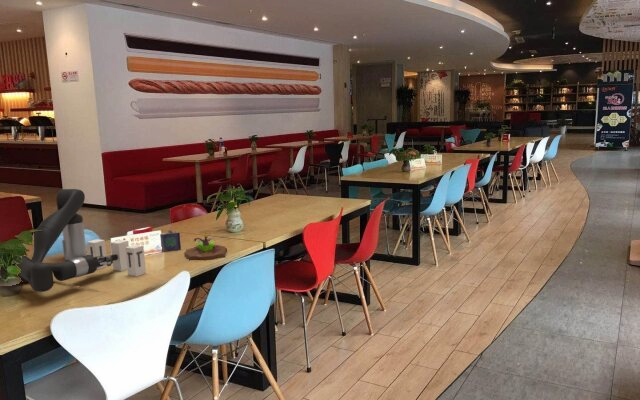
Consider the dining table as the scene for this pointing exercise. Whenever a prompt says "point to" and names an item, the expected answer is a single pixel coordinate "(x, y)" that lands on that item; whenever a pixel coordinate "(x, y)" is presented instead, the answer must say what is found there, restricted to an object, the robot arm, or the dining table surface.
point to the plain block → (119, 254)
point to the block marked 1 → (97, 249)
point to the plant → (205, 250)
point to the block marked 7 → (135, 260)
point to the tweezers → (203, 239)
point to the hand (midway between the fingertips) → (116, 256)
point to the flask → (170, 241)
